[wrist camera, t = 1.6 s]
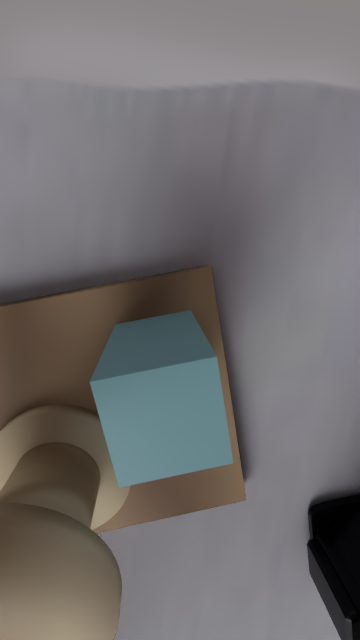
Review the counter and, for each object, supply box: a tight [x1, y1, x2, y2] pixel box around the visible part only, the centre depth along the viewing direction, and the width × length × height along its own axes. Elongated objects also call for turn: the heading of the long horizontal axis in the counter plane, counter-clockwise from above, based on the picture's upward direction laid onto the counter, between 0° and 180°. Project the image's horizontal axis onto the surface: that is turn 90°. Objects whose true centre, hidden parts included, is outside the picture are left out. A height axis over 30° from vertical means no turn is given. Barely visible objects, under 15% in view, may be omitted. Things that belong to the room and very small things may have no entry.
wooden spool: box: [0, 404, 131, 640], centre depth 12 cm, size 7×7×7 cm
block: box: [90, 310, 233, 488], centre depth 12 cm, size 4×4×6 cm
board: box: [0, 265, 246, 533], centre depth 14 cm, size 20×13×4 cm, turn 100°
